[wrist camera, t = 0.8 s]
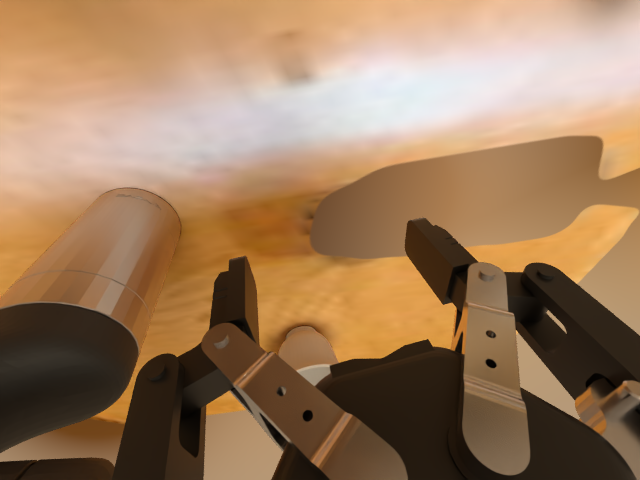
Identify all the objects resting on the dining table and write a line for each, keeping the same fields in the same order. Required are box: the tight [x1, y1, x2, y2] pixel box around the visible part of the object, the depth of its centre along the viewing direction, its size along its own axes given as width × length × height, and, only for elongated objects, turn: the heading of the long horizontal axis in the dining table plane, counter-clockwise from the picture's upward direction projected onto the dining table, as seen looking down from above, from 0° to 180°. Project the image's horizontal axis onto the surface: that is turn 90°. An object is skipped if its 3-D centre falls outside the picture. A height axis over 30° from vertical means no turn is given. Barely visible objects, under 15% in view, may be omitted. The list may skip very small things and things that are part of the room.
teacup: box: [278, 326, 338, 386], centre depth 48 cm, size 12×15×10 cm
